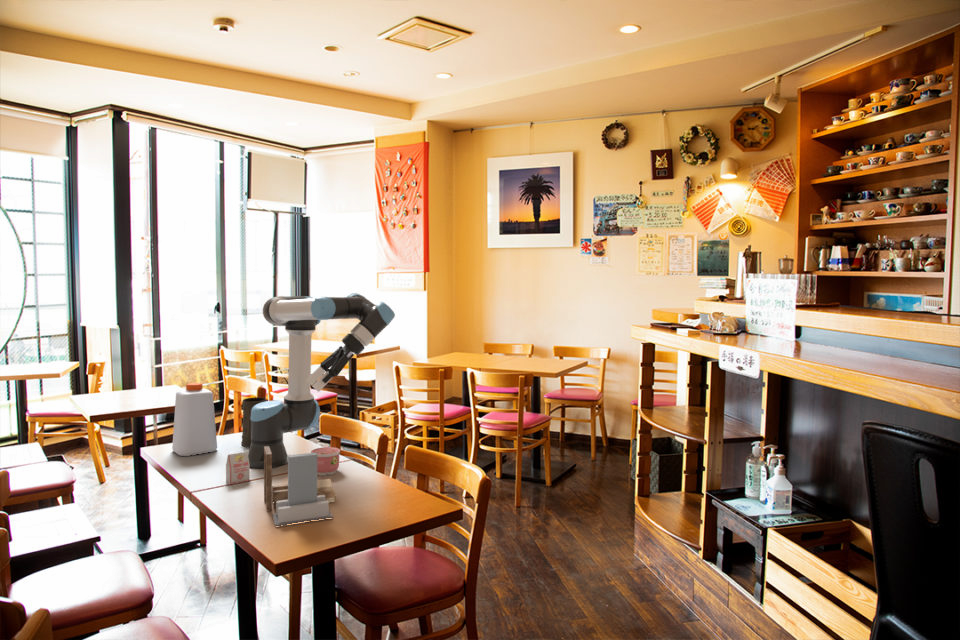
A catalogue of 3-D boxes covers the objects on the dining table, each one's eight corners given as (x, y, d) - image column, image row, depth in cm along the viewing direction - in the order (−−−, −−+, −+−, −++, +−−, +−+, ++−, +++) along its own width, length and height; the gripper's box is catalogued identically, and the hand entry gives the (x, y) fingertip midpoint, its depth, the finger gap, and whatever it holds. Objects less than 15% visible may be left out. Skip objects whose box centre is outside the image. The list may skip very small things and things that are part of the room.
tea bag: (226, 481, 202) (225, 453, 202) (245, 477, 207) (245, 450, 206) (229, 484, 200) (229, 455, 199) (249, 480, 204) (249, 452, 204)
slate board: (315, 511, 174) (315, 452, 173) (317, 514, 172) (317, 454, 171) (287, 515, 171) (287, 455, 170) (288, 518, 169) (288, 457, 168)
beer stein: (237, 442, 254) (237, 397, 252) (261, 438, 261) (262, 395, 258) (249, 452, 242) (249, 406, 240) (274, 448, 249) (275, 403, 247)
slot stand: (327, 508, 179) (327, 493, 179) (332, 519, 171) (332, 503, 171) (272, 516, 172) (272, 500, 172) (275, 527, 164) (275, 510, 164)
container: (311, 477, 208) (311, 455, 208) (310, 469, 218) (310, 448, 218) (341, 475, 212) (341, 453, 211) (338, 466, 222) (338, 446, 221)
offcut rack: (330, 492, 194) (330, 440, 193) (335, 502, 184) (335, 447, 184) (264, 500, 185) (263, 446, 184) (266, 511, 176) (266, 454, 175)
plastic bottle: (208, 444, 250) (208, 379, 249) (220, 451, 239) (219, 384, 238) (169, 450, 240) (169, 383, 239) (179, 458, 229) (179, 388, 228)
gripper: (374, 351, 187) (326, 400, 182) (356, 344, 210) (314, 387, 204) (358, 335, 185) (309, 384, 179) (342, 329, 208) (298, 373, 202)
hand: (311, 386), depth 192 cm, fingers open, 13 cm apart
